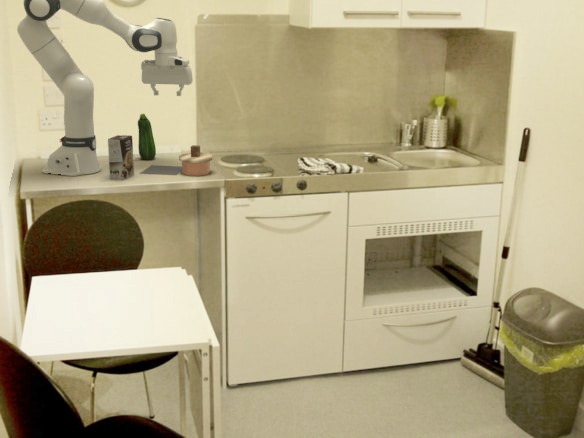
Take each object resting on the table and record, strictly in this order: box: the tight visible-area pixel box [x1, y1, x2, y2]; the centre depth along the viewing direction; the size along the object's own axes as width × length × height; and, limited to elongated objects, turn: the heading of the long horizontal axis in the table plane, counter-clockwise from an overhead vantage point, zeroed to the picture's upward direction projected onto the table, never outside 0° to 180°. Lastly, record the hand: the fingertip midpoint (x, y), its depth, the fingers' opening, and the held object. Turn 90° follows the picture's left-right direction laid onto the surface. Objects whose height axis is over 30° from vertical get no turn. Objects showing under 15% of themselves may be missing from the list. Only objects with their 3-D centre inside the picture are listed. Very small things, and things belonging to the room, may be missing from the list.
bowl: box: [181, 161, 211, 177], centre depth 295 cm, size 10×10×6 cm
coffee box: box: [107, 134, 135, 181], centre depth 286 cm, size 9×6×16 cm
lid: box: [178, 144, 213, 163], centre depth 294 cm, size 13×13×5 cm
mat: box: [139, 164, 182, 176], centre depth 300 cm, size 15×15×1 cm
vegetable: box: [137, 113, 157, 161], centre depth 317 cm, size 7×7×20 cm
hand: (167, 95), depth 300 cm, fingers open, 8 cm apart
